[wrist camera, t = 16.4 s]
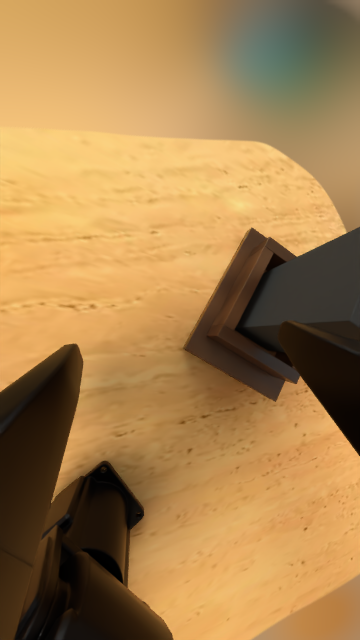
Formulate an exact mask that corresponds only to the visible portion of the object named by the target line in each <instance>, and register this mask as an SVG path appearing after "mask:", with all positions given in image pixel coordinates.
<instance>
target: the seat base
mask: <svg viewBox="0 0 360 640" xmlns="http://www.w3.org/2000/svg"><path fill="white" fill-rule="evenodd" d="M294 258H296V256H295V255H294V254H292V253H291V252H290V251H288V250H287V249H286V248H284V247H283V246H282V245H280V244H279V243H277V242H276V241H275V240H273V239H272V238H271V237H269V238H266V237H264V236H263V235H262V234H260V233H259V232H258V231H256V230H255V229H253V228H251V229H249V230H248V231H247V233H246V235H245V237H244V238H243V240H242V242H241V244H240V246H239V247H238V249H237V251H236V253H235V255H234V256H233V258H232V260H231V262H230V264H229V266H228V267H227V269H226V271H225V273H224V275H223V276H222V278H221V280H220V282H219V284H218V285H217V287H216V289H215V291H214V293H213V295H212V296H211V298H210V300H209V302H208V304H207V305H206V307H205V309H204V311H203V313H202V314H201V316H200V318H199V320H198V322H197V324H196V325H195V327H194V329H193V331H192V333H191V334H190V336H189V338H188V340H187V342H186V344H185V345H184V347H183V349H185V350H186V351H188V352H190V353H192V354H193V355H195V356H197V357H199V358H200V359H202V360H204V361H205V362H207V363H209V364H211V365H212V366H214V367H216V368H217V369H219V370H221V371H223V372H224V373H226V374H228V375H230V376H231V377H233V378H235V379H236V380H238V381H240V382H242V383H243V384H245V385H247V386H249V387H250V388H252V389H254V390H255V391H257V392H259V393H261V394H262V395H264V396H266V397H267V398H269V399H271V400H273V401H275V402H276V400H277V398H278V396H279V393H280V391H281V389H282V387H283V384H284V382H285V381H288V382H291V383H294V384H297V382H298V379H299V377H300V374H299V373H298V372H297V370H296V369H295V367H294V366H293V364H292V363H291V361H290V359H289V358H288V356H287V354H286V353H285V352H277V351H269V350H266V349H265V348H263V347H262V346H260V345H258V344H257V343H255V342H254V341H252V340H250V339H249V338H247V337H246V336H244V335H242V334H241V333H239V332H238V331H236V330H235V328H236V326H237V324H238V322H239V320H240V318H241V316H242V314H243V312H244V310H245V308H246V306H247V304H248V302H249V301H250V299H251V297H252V295H253V293H254V291H255V289H256V287H257V285H258V283H259V281H260V279H261V277H262V275H263V273H265V272H267V271H269V270H271V269H273V268H275V267H278V266H280V265H282V264H284V263H286V262H288V261H290V260H292V259H294Z"/></svg>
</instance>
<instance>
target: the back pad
mask: <svg viewBox="0 0 360 640" xmlns="http://www.w3.org/2000/svg"><path fill="white" fill-rule="evenodd" d="M288 320H293V321H296V322H300V323H303V324H306V325H309V326H312V327H315V328H319V329H322V330H325V331H328V332H331V333H335V334H338V335H341V336H344V337H347V338H351V339H354V340H357V341H360V227H359V228H357V229H355V230H352V231H351V232H348V233H346V234H344V235H342V236H340V237H338V238H336V239H334V240H332V241H330V242H327V243H325V244H323V245H321V246H319V247H317V248H315V249H313V250H311V251H309V252H307V253H305V254H303V255H300V256H298V257H296V258H294V259H292V260H290V261H288V262H286V263H284V264H282V265H280V266H278V267H275V268H273V269H271V270H269V271H267V272H265V273H263V275H262V277H261V279H260V281H259V283H258V285H257V287H256V289H255V291H254V293H253V295H252V297H251V299H250V301H249V302H248V304H247V306H246V308H245V310H244V312H243V314H242V316H241V318H240V320H239V322H238V324H237V326H236V328H235V330H236V331H238V332H239V333H241V334H242V335H244V336H246V337H247V338H249V339H250V340H252V341H254V342H255V343H257V344H258V345H260V346H262V347H263V348H265V349H266V350H269V351H277V352H285V351H284V349H283V348H282V346H281V344H280V343H279V341H278V338H277V335H278V332H279V329H280V326H281V323H282V322H283V321H288Z"/></svg>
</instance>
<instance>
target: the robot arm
mask: <svg viewBox="0 0 360 640" xmlns="http://www.w3.org/2000/svg"><path fill="white" fill-rule="evenodd" d="M277 338H278V341H279V343H280V344H281V346H282V348H283V349H284V351H285V353H286V354H287V356H288V358H289V359H290V361H291V363H292V364H293V366H294V367H295V369H296V370H297V372H298V373H299V374H300V376H301V377H302V379H303V380H304V381H305V383H306V384H307V385H308V387H309V388H310V389H311V391H312V392H313V393H314V395H315V396H316V398H317V399H318V400H319V402H320V403H321V404H322V406H323V407H324V408H325V410H326V411H327V412H328V414H329V415H330V417H331V418H332V419H333V421H334V422H335V423H336V425H337V426H338V427H339V429H340V430H341V431H342V433H343V434H344V436H345V437H346V438H347V440H348V441H349V442H350V444H351V445H352V446H353V448H354V449H355V451H356V452H357V453H358V455H359V456H360V341H357V340H354V339H351V338H347V337H344V336H341V335H338V334H335V333H331V332H328V331H325V330H322V329H319V328H315V327H312V326H309V325H306V324H303V323H300V322H296V321H293V320H288V321H283V322H282V323H281V326H280V329H279V332H278V335H277ZM82 370H83V359H82V356H81V353H80V350H79V347H78V345H77V344H68V345H64V346H63V347H61V348H60V349H59V350H57V351H56V352H55V353H53V354H52V355H51V356H49V357H48V358H46V359H45V360H44V361H42V362H41V363H40V364H38V365H37V366H35V367H34V368H33V369H31V370H30V371H29V372H27V373H26V374H25V375H23V376H22V377H20V378H19V379H18V380H16V381H15V382H14V383H12V384H11V385H9V386H8V387H7V388H5V389H4V390H3V391H1V392H0V640H173V637H172V633H171V632H170V630H169V628H168V627H167V625H166V623H165V622H164V620H163V619H162V618H161V617H159V616H158V615H157V614H156V613H155V612H154V611H153V610H151V609H150V607H149V606H148V605H147V604H146V603H145V602H142V601H141V600H140V599H139V598H138V597H137V596H136V595H134V594H133V593H132V592H131V591H130V590H129V589H128V567H129V541H130V529H132V528H133V527H134V526H135V525H136V524H137V523H138V522H139V521H140V520H141V519H142V518H143V516H144V508H143V506H142V505H141V504H140V503H139V501H138V500H137V499H136V497H135V496H134V495H133V493H132V492H131V491H130V490H129V488H128V487H127V486H126V484H125V483H124V482H123V480H122V479H121V478H120V477H119V475H118V474H117V473H116V471H115V470H114V469H113V467H112V466H111V465H110V464H109V462H107V461H103V462H101V463H100V464H99V465H98V466H96V467H95V468H94V469H93V470H92V471H90V472H89V473H88V474H87V475H85V476H80V477H79V478H78V479H76V480H75V481H74V482H73V483H72V484H70V485H69V486H68V487H67V488H66V489H64V490H63V491H62V492H61V493H59V494H58V495H57V496H56V497H55V499H54V501H53V503H51V501H52V497H53V493H54V489H55V486H56V482H57V478H58V474H59V471H60V467H61V463H62V459H63V456H64V452H65V448H66V445H67V441H68V437H69V433H70V430H71V426H72V422H73V418H74V415H75V411H76V407H77V403H78V398H79V392H80V385H81V377H82ZM102 467H106V469H105V470H103V469H102ZM138 512H141V513H140V514H137V513H138Z"/></svg>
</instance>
